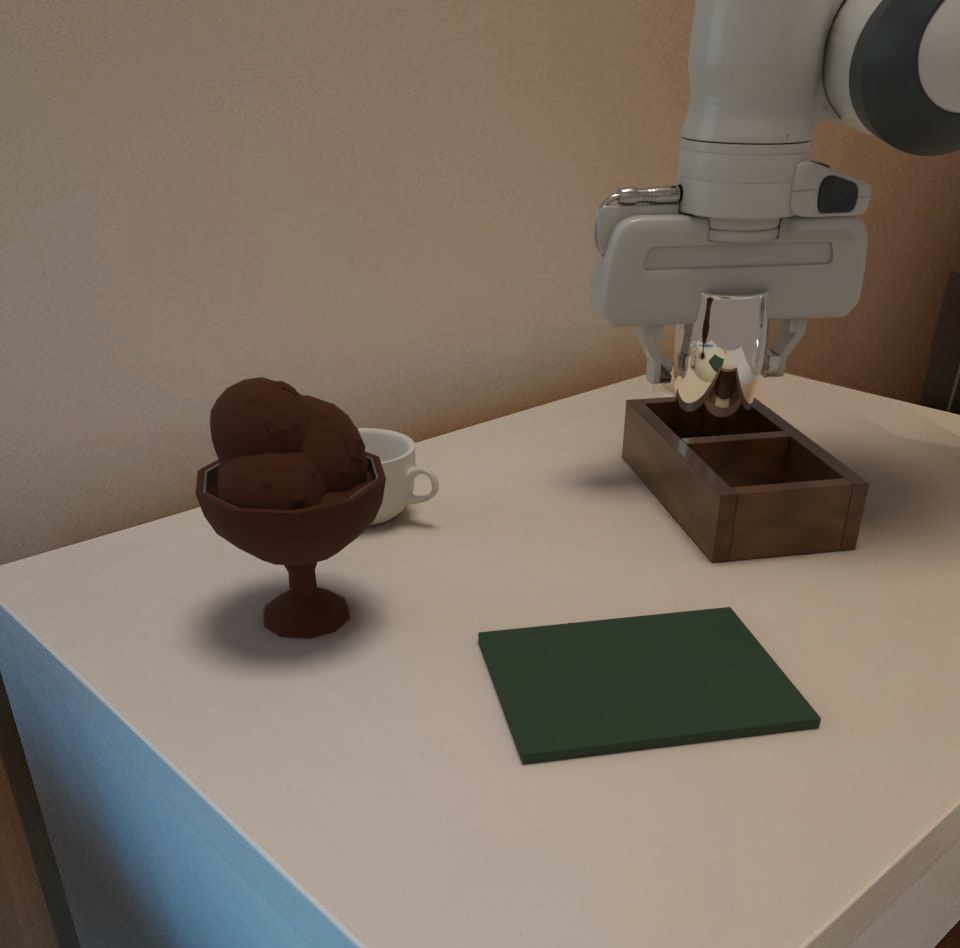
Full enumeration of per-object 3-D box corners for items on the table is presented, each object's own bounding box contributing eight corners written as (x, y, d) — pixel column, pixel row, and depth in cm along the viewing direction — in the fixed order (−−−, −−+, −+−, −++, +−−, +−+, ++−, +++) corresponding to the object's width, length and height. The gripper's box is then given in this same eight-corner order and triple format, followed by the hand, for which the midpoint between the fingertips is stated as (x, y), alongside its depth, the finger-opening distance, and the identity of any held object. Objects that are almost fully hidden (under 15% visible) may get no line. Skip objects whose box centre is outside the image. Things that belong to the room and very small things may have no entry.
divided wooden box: (739, 447, 87) (747, 391, 84) (855, 549, 70) (869, 483, 68) (621, 456, 85) (626, 399, 83) (711, 562, 69) (720, 495, 66)
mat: (729, 614, 62) (730, 606, 62) (819, 727, 52) (821, 718, 52) (478, 640, 60) (478, 632, 60) (522, 764, 50) (523, 754, 50)
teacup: (294, 524, 74) (287, 455, 71) (346, 487, 80) (341, 422, 77) (415, 548, 70) (412, 477, 68) (460, 507, 76) (459, 440, 74)
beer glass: (646, 479, 81) (663, 288, 73) (683, 453, 86) (703, 271, 78) (727, 499, 78) (754, 301, 70) (760, 471, 83) (789, 282, 75)
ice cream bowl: (295, 684, 56) (264, 426, 48) (183, 616, 62) (139, 380, 55) (429, 613, 63) (420, 377, 55) (315, 559, 69) (293, 341, 61)
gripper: (610, 194, 66) (597, 398, 73) (894, 187, 69) (854, 383, 77) (584, 181, 71) (574, 373, 78) (848, 175, 75) (815, 360, 82)
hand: (714, 378), depth 78 cm, fingers open, 8 cm apart
